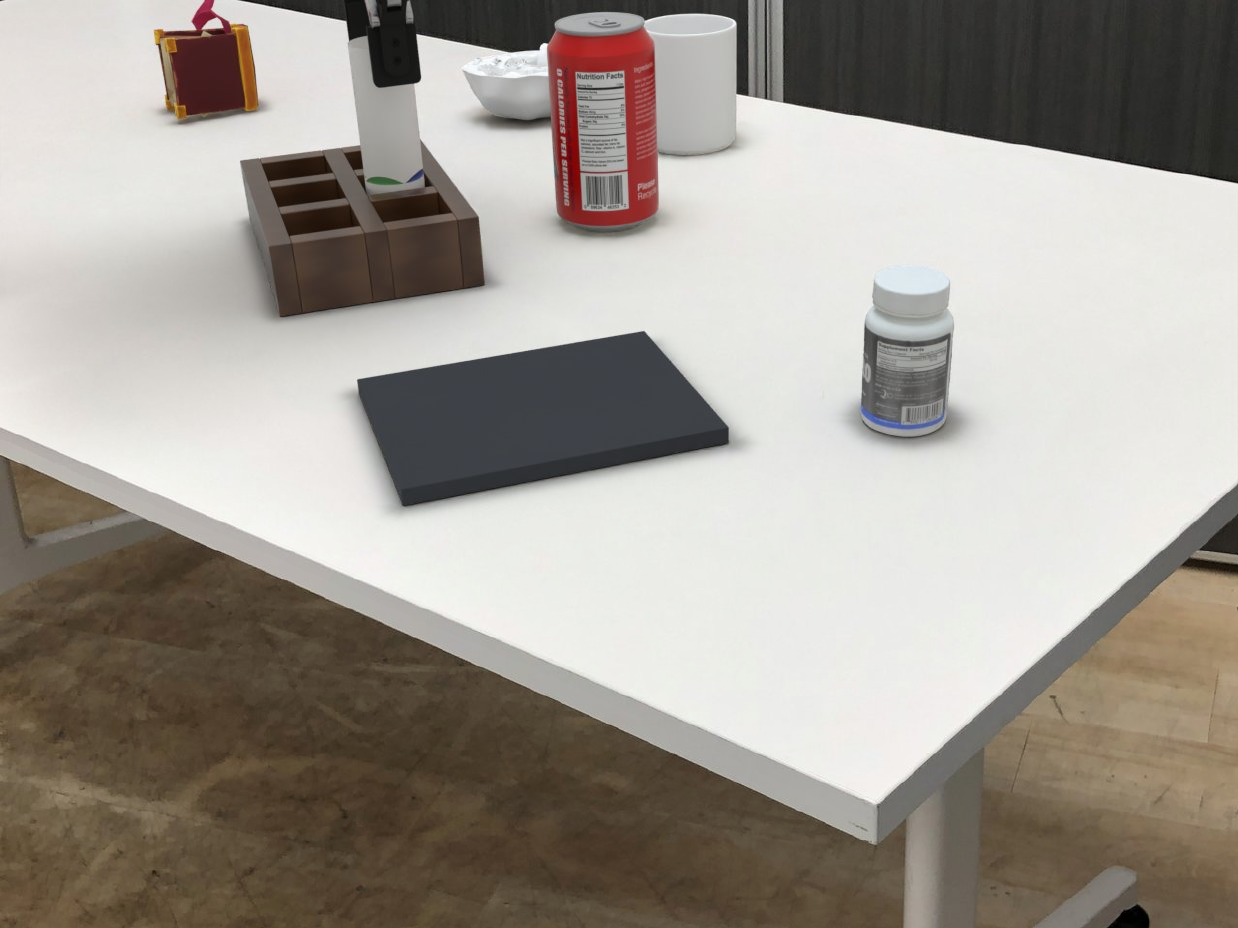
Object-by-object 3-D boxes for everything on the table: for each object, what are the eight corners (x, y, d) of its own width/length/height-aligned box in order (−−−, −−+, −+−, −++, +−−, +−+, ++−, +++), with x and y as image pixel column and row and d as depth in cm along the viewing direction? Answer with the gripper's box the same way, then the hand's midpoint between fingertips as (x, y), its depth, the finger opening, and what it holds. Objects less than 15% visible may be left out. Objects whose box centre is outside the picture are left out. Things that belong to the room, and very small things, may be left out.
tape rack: (280, 317, 96) (268, 246, 94) (250, 222, 113) (239, 160, 111) (485, 285, 100) (479, 216, 97) (426, 198, 117) (419, 137, 114)
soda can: (589, 245, 106) (578, 38, 99) (539, 216, 112) (525, 19, 105) (678, 223, 109) (675, 21, 102) (625, 196, 115) (618, 4, 108)
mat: (402, 506, 74) (400, 489, 73) (358, 394, 85) (356, 378, 85) (729, 443, 78) (729, 427, 78) (644, 345, 90) (644, 330, 90)
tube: (365, 242, 108) (339, 40, 101) (419, 231, 110) (397, 31, 103) (384, 260, 105) (358, 51, 98) (439, 248, 106) (418, 43, 99)
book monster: (167, 125, 138) (166, 101, 149) (263, 117, 140) (255, 94, 151) (148, 10, 134) (149, -6, 144) (247, 3, 136) (241, -12, 146)
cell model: (487, 100, 143) (481, 30, 139) (603, 104, 140) (600, 33, 136) (450, 129, 134) (443, 55, 131) (572, 134, 131) (568, 59, 128)
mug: (633, 170, 121) (629, 46, 116) (589, 146, 128) (583, 28, 123) (754, 146, 126) (755, 26, 121) (705, 124, 132) (704, 9, 127)
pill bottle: (870, 395, 83) (877, 257, 79) (953, 406, 81) (964, 266, 77) (850, 432, 79) (857, 289, 75) (937, 444, 77) (948, 299, 73)
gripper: (277, -203, 99) (314, 48, 107) (311, -183, 85) (351, 106, 93) (385, -211, 101) (413, 36, 109) (436, -193, 86) (464, 91, 95)
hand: (384, 68), depth 101 cm, fingers open, 9 cm apart
